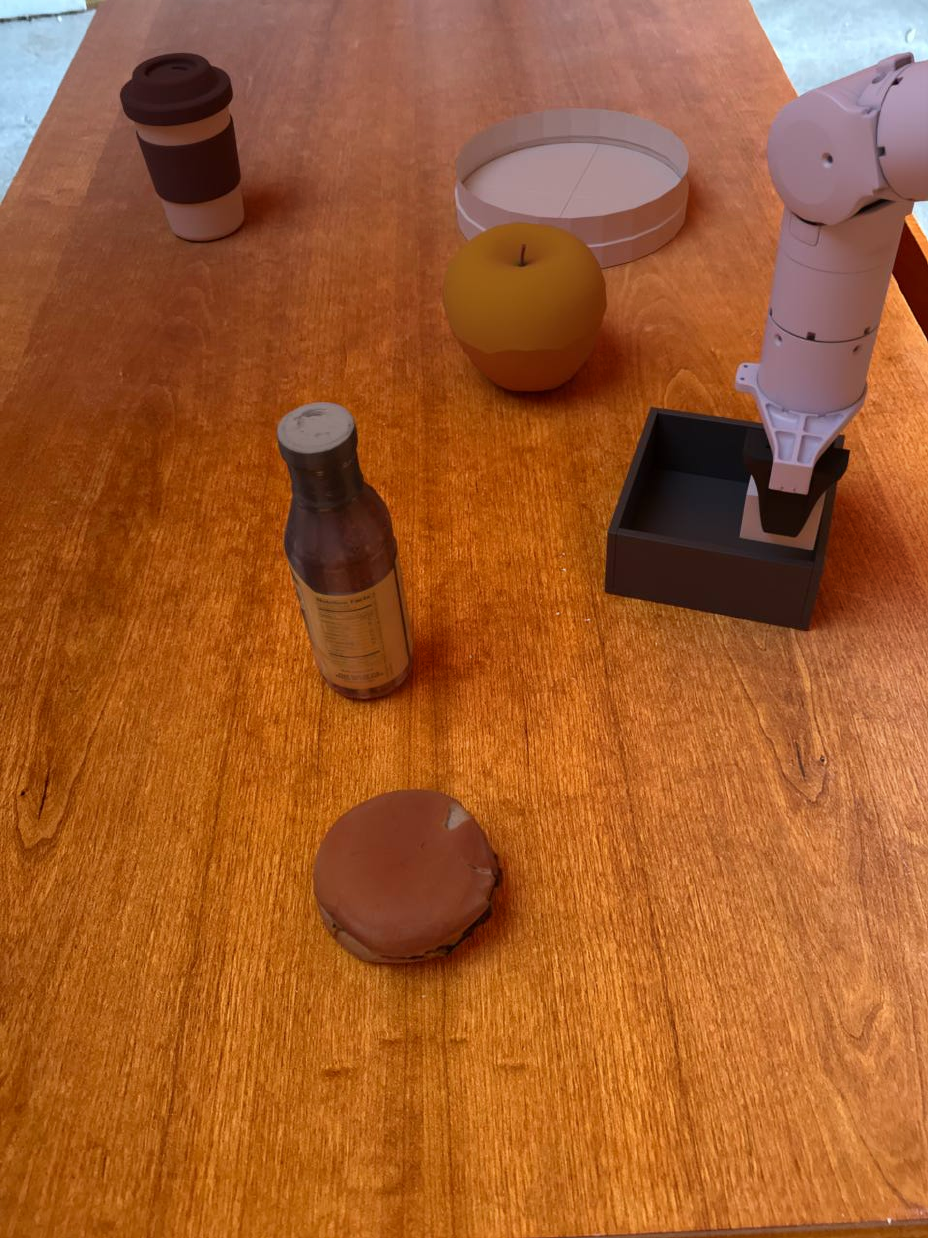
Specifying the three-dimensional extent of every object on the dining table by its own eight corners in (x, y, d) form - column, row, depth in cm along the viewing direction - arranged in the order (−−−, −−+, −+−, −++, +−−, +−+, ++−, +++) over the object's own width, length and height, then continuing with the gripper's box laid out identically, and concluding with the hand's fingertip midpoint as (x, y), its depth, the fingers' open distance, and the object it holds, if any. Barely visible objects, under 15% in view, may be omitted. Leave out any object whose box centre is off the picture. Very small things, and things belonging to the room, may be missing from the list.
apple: (506, 441, 87) (501, 310, 78) (416, 362, 94) (403, 235, 86) (638, 378, 91) (647, 248, 83) (542, 307, 99) (541, 181, 90)
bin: (830, 496, 81) (845, 434, 76) (808, 631, 72) (823, 570, 68) (646, 466, 84) (650, 406, 80) (604, 592, 76) (607, 532, 72)
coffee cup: (185, 261, 107) (143, 101, 96) (141, 222, 113) (96, 66, 102) (277, 225, 111) (246, 67, 100) (229, 189, 117) (194, 35, 106)
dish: (423, 254, 106) (418, 203, 102) (495, 146, 119) (493, 98, 116) (659, 284, 100) (663, 232, 96) (707, 167, 114) (712, 117, 110)
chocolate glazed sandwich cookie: (284, 920, 61) (269, 876, 57) (384, 793, 66) (376, 745, 62) (439, 1013, 57) (433, 971, 53) (533, 870, 62) (532, 824, 59)
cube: (820, 507, 71) (830, 463, 69) (812, 550, 69) (823, 506, 66) (749, 495, 73) (756, 451, 70) (739, 538, 70) (746, 494, 67)
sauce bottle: (344, 621, 75) (293, 370, 60) (431, 644, 73) (400, 391, 59) (299, 695, 71) (232, 446, 56) (390, 721, 69) (346, 470, 55)
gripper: (766, 233, 65) (738, 423, 75) (723, 382, 56) (698, 575, 66) (895, 247, 63) (849, 440, 73) (873, 402, 54) (823, 598, 64)
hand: (785, 505), depth 70 cm, fingers closed on cube, 4 cm apart
